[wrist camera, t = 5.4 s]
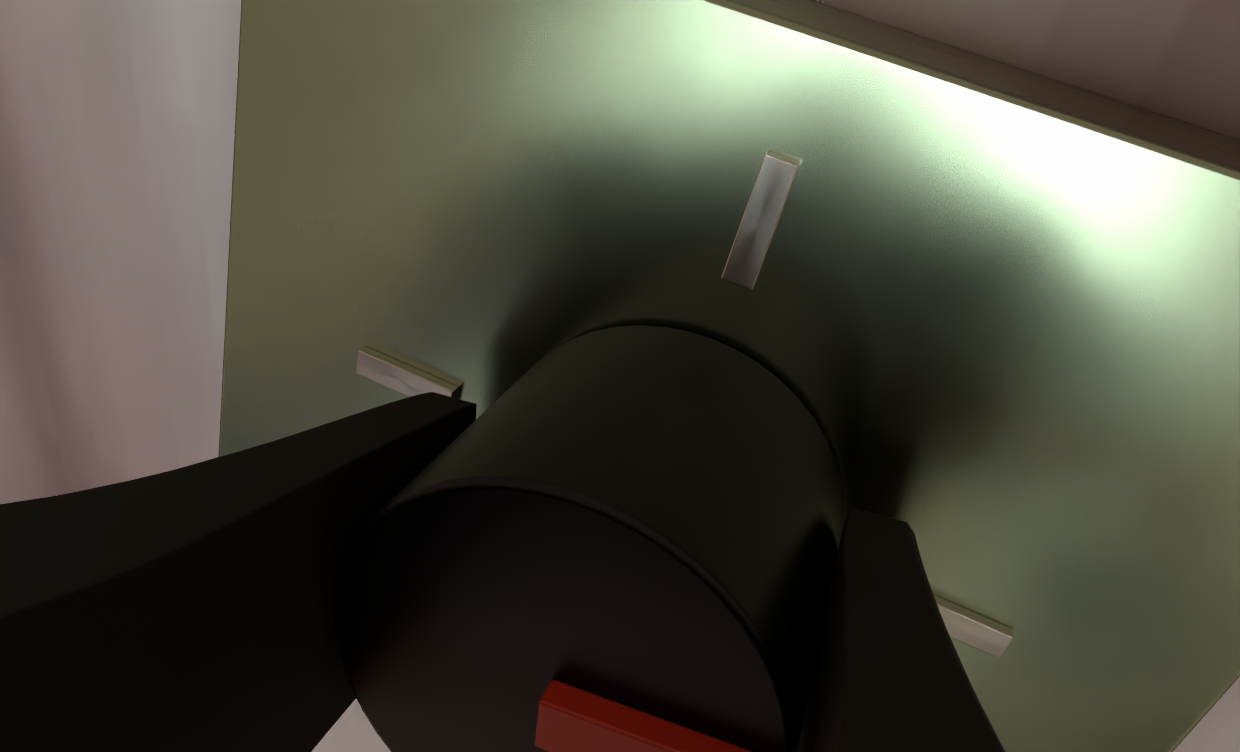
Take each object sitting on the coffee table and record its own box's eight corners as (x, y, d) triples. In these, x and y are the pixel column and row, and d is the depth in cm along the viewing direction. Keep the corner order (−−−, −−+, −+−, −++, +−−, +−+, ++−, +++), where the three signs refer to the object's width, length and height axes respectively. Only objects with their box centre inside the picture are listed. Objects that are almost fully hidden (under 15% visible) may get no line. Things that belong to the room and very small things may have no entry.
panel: (321, 494, 17) (202, 593, 15) (399, -136, 12) (236, -163, 9) (974, 804, 15) (976, 988, 12) (1427, 200, 10) (1602, 294, 7)
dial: (491, 576, 13) (319, 800, 9) (510, 284, 11) (299, 434, 7) (801, 680, 11) (734, 976, 8) (888, 377, 9) (848, 607, 6)
